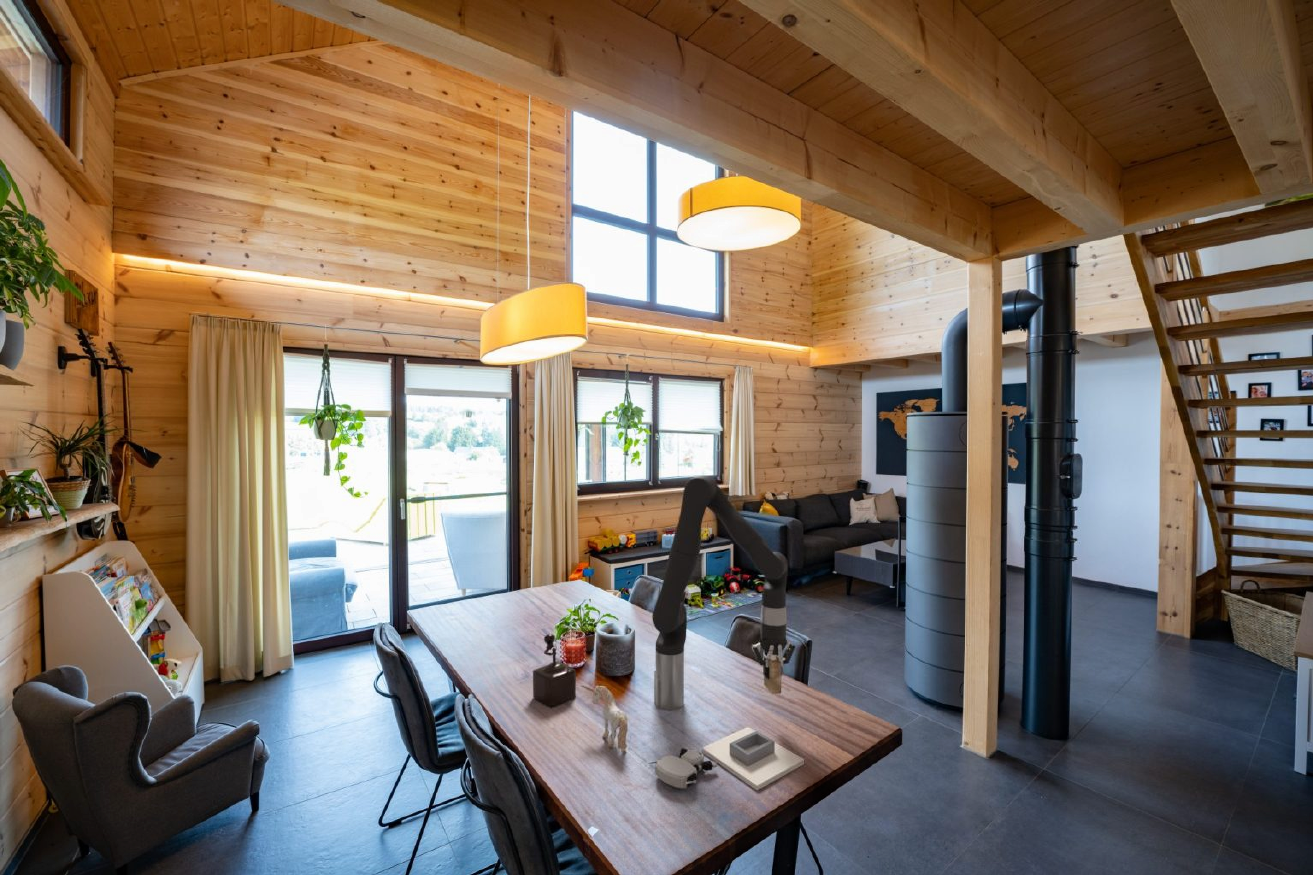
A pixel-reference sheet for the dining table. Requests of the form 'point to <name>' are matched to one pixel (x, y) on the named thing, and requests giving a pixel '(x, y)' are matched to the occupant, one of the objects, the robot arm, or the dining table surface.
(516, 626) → the dining table surface
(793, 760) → the socket base
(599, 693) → the unicorn figurine
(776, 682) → the tall wooden peg block
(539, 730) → the dining table surface
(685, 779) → the robot toy
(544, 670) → the dark block with post
